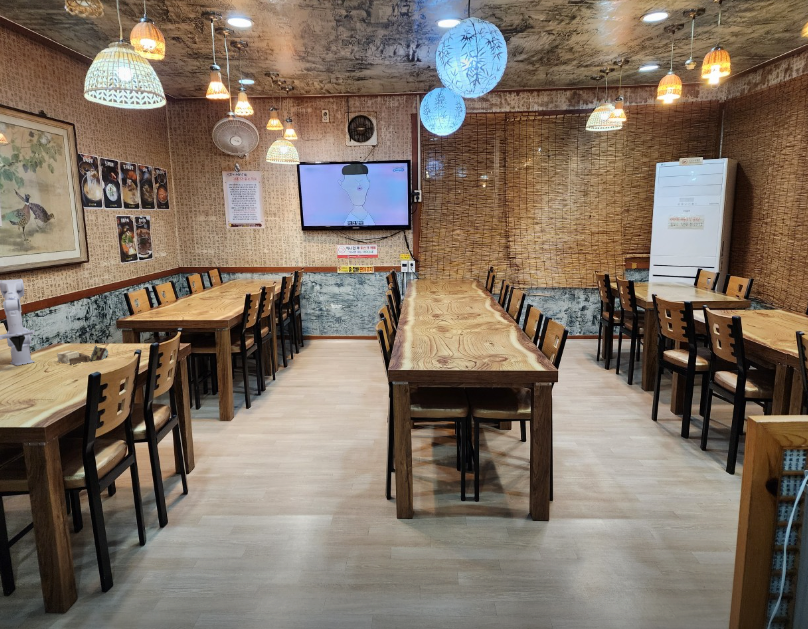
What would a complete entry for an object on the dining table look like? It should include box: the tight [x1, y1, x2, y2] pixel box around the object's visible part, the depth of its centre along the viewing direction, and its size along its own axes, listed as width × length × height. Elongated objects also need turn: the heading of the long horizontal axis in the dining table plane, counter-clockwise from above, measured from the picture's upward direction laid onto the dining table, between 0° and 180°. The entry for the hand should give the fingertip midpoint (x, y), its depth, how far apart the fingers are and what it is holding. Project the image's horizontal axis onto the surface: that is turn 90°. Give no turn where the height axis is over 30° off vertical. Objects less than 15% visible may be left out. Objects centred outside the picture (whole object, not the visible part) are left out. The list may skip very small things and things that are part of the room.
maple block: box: [56, 350, 80, 364], centre depth 269 cm, size 8×6×5 cm
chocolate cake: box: [90, 344, 109, 362], centre depth 275 cm, size 10×7×12 cm
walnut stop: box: [69, 352, 91, 366], centre depth 270 cm, size 18×8×3 cm, turn 54°
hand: (19, 351), depth 254 cm, fingers closed
